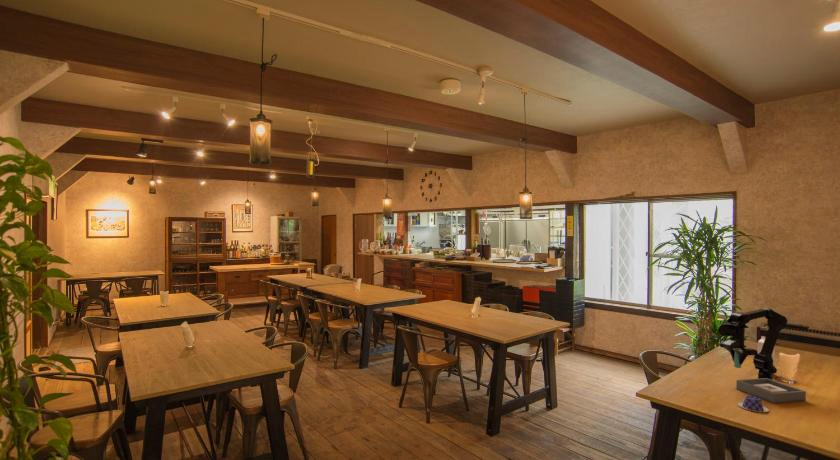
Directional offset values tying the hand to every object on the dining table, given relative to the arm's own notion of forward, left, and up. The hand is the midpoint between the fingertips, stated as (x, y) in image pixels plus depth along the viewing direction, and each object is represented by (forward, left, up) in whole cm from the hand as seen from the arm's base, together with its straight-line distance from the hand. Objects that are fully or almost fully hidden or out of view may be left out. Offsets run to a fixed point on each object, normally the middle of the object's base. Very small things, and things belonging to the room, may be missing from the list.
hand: (737, 363), depth 244 cm
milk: (-33, -11, -11) cm, 36 cm away
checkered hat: (+25, +30, -12) cm, 41 cm away
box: (0, +18, -11) cm, 21 cm away
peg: (0, 0, -2) cm, 2 cm away
